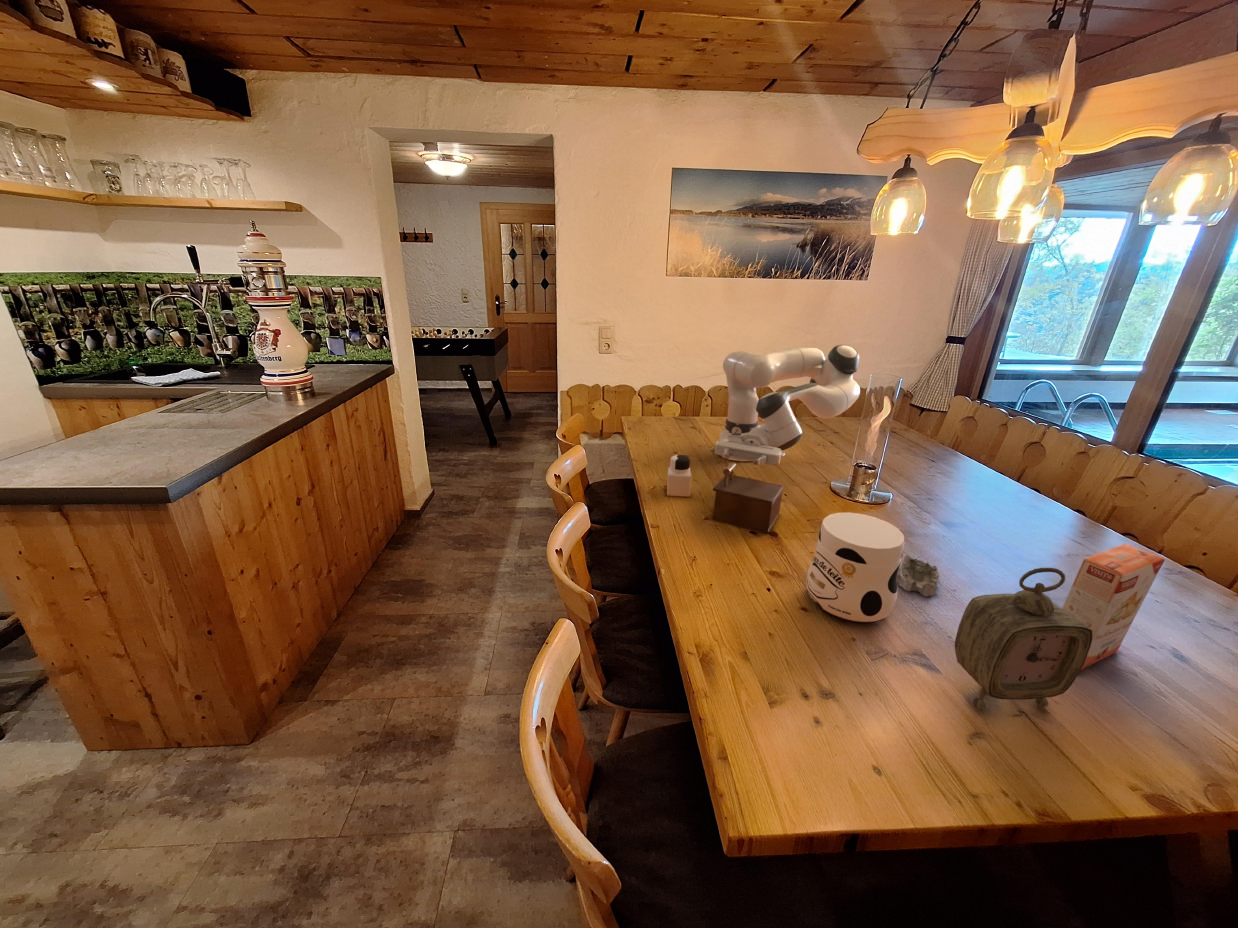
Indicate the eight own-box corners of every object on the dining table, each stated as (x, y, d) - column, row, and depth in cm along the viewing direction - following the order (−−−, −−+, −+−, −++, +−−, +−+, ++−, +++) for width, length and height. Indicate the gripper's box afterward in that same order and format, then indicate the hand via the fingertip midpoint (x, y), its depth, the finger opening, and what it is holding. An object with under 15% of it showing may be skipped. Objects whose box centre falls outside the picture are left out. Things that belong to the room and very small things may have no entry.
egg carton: (933, 600, 106) (938, 584, 105) (894, 587, 110) (898, 572, 109) (937, 577, 114) (942, 562, 113) (901, 566, 118) (905, 551, 117)
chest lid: (712, 490, 137) (714, 470, 135) (727, 476, 147) (729, 457, 145) (771, 504, 129) (774, 483, 127) (782, 487, 139) (785, 468, 137)
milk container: (789, 603, 104) (802, 529, 98) (821, 571, 116) (835, 502, 109) (876, 643, 93) (897, 562, 87) (901, 602, 105) (921, 529, 99)
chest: (712, 519, 140) (715, 491, 136) (727, 503, 150) (729, 476, 147) (767, 533, 132) (771, 504, 129) (778, 515, 143) (782, 488, 139)
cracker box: (1079, 675, 86) (1125, 575, 79) (1040, 652, 92) (1080, 556, 84) (1120, 653, 92) (1168, 557, 84) (1082, 633, 97) (1123, 541, 89)
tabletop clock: (974, 717, 78) (1023, 585, 69) (937, 673, 86) (976, 551, 77) (1060, 714, 79) (1120, 583, 70) (1015, 671, 87) (1063, 550, 78)
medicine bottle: (688, 487, 160) (691, 453, 156) (689, 497, 153) (692, 461, 149) (667, 486, 161) (669, 452, 156) (666, 495, 154) (669, 460, 150)
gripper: (785, 461, 154) (774, 476, 143) (722, 450, 163) (708, 463, 152) (787, 442, 152) (777, 456, 140) (724, 432, 161) (709, 443, 150)
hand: (740, 459), depth 146 cm, fingers open, 8 cm apart
